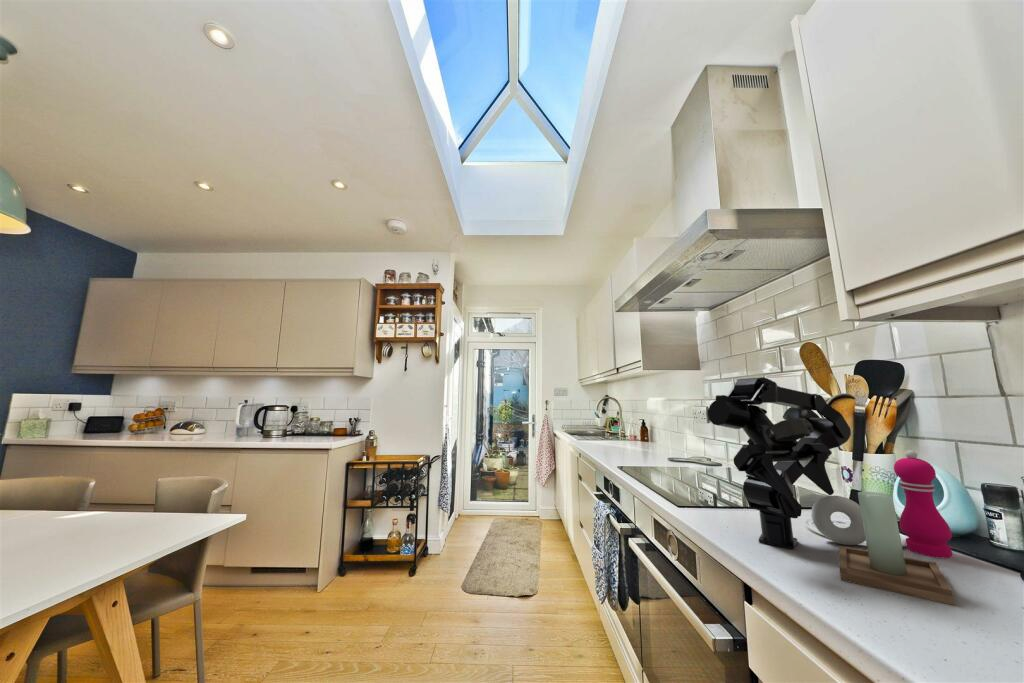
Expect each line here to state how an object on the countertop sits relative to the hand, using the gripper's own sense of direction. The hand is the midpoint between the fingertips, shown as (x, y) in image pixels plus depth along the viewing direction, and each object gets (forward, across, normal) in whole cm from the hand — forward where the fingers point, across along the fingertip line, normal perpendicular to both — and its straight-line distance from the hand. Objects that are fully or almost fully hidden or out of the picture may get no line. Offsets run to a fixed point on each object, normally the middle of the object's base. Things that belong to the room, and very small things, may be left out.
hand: (810, 494), depth 71 cm
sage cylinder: (+12, +9, +4) cm, 15 cm away
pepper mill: (+7, +29, +11) cm, 31 cm away
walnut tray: (+13, +9, +5) cm, 16 cm away
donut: (+3, +16, +16) cm, 23 cm away
